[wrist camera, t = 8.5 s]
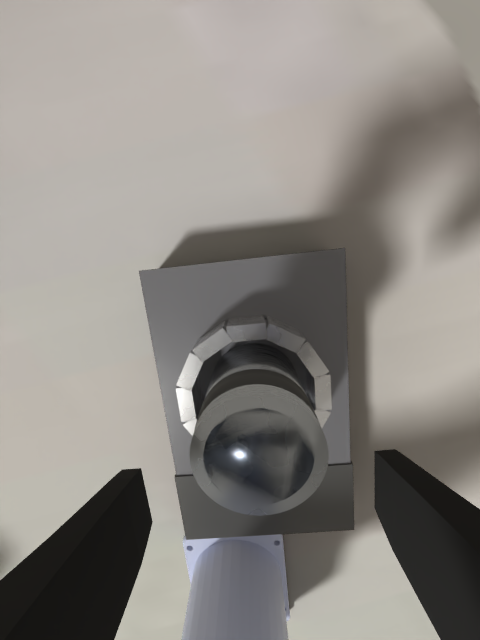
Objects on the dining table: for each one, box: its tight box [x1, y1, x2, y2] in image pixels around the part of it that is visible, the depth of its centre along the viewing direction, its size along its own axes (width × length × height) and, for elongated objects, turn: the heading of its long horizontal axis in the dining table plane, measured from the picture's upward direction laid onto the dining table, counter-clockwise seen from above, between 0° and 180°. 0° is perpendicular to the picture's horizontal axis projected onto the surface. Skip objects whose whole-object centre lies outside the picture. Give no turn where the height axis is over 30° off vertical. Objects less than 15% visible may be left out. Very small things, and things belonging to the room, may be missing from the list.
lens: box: [189, 343, 329, 516], centre depth 12 cm, size 5×5×6 cm
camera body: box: [139, 248, 354, 540], centre depth 16 cm, size 18×11×5 cm, turn 6°
